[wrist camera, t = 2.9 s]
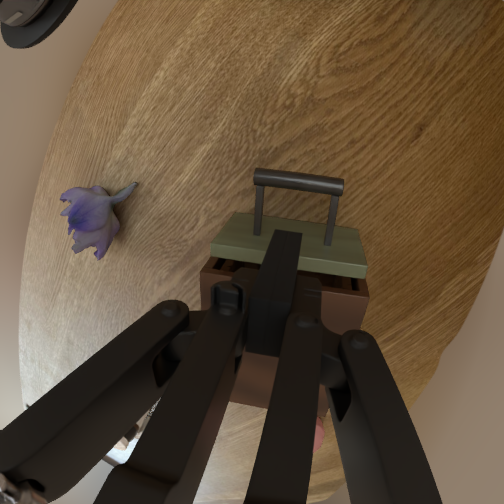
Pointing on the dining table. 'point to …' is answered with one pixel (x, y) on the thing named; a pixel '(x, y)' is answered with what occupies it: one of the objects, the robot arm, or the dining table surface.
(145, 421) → the spread jar
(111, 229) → the flower
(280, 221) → the drawer
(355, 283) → the cabinet
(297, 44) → the dining table surface
